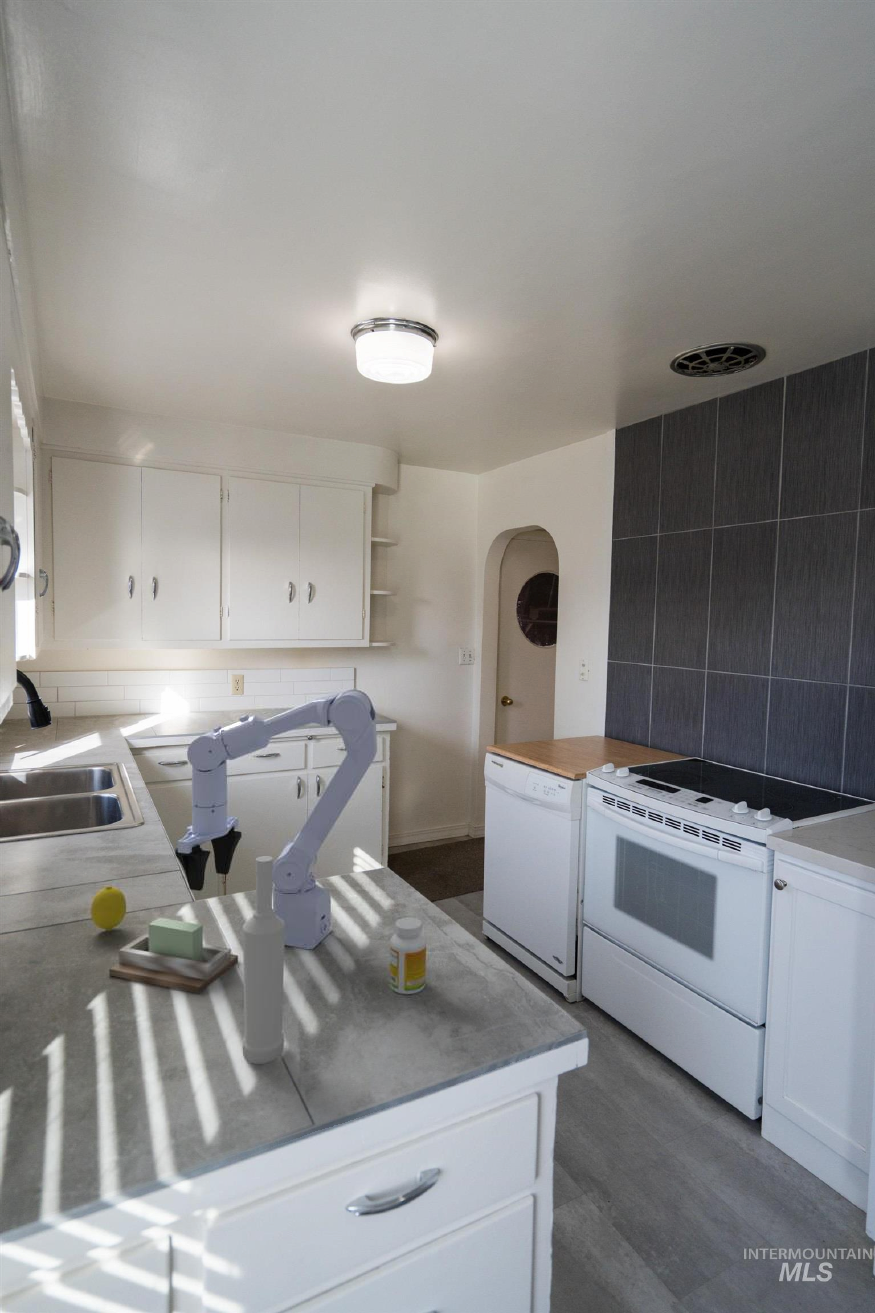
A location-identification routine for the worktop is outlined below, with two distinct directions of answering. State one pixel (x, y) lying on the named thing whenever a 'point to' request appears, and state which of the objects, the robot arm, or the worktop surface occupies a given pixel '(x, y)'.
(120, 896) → the lemon
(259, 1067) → the worktop surface
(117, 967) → the track base
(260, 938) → the bottle
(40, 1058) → the worktop surface
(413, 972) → the supplement bottle
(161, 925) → the pale green rectangular block
